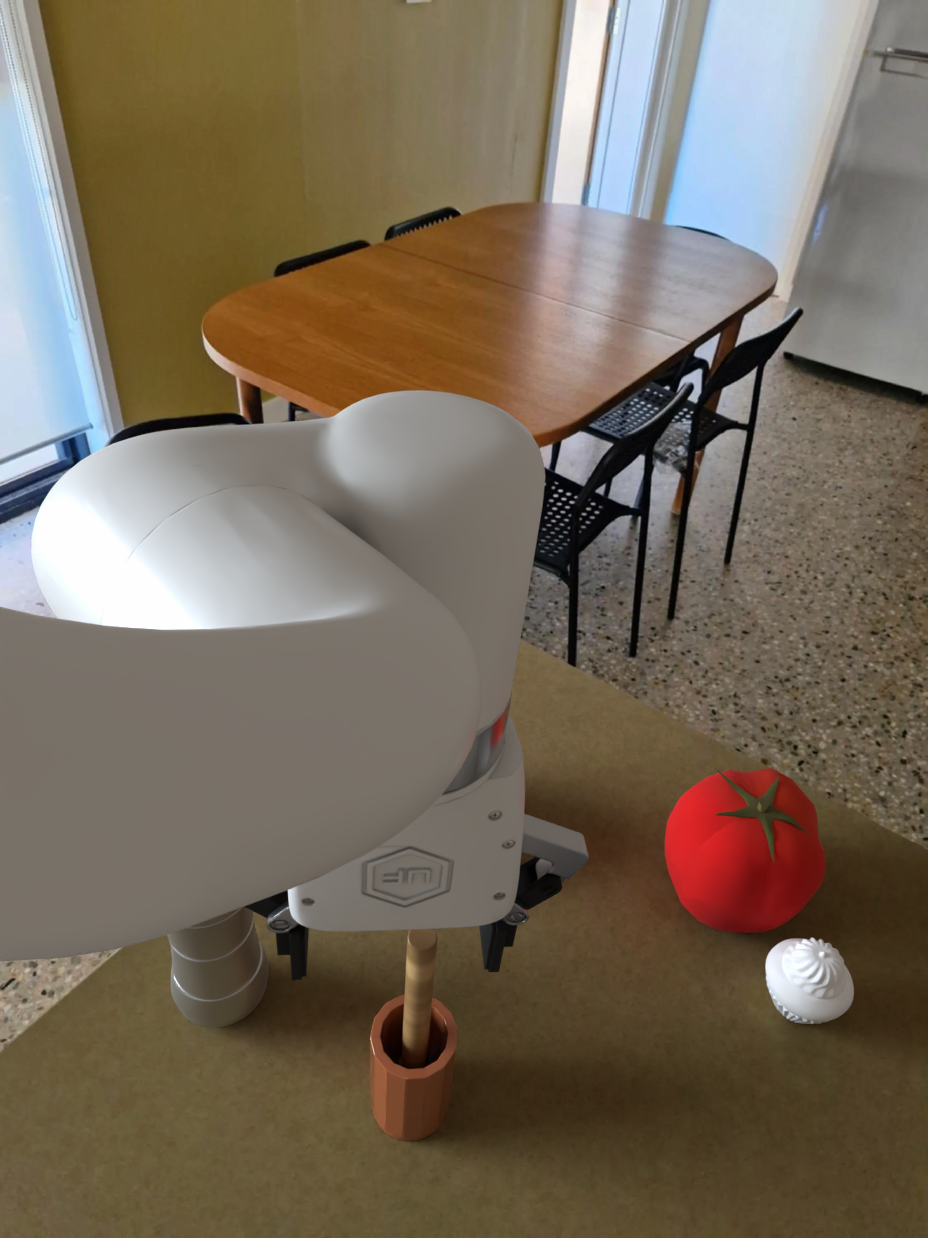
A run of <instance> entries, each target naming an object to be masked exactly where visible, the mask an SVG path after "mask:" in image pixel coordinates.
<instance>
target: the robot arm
mask: <svg viewBox="0 0 928 1238" xmlns="http://www.w3.org/2000/svg"><path fill="white" fill-rule="evenodd" d="M545 468H546V467H545V463H544V459H543V455H542V451H541V449H540V447H539V445H538V443H537V441H536V440H535V437H534V436H533V434H532V432H531V431H530V430H529V429H528V428H527V427H526V426H525V425H524V424H523V423H522V422H521V421H519V420H518V419H517V418H515V417H514V416H513V415H511V413H509V412H507V411H505V410H504V409H502V408H500V407H498V406H496V405H494V404H491V403H489V402H487V401H484V400H482V399H478V398H474V397H471V396H466V395H463V394H458V393H453V392H446V391H439V390H438V391H436V390H423V389H422V390H421V389H419V390H417V389H416V390H415V389H413V390H398V391H390V392H383V393H380V394H376V395H372V396H369V397H365V398H363V399H360V400H359V401H356V402H354V403H352V404H350V405H349V406H347V407H345V408H344V409H342V410H341V411H338V413H336V414H335V415H333V416H330V417H323V418H313V419H306V420H295V421H294V420H293V421H281V422H268V423H267V422H266V423H253V424H252V423H251V424H237V425H236V424H232V425H213V426H212V425H209V426H198V427H197V426H196V427H184V428H176V429H175V428H174V429H167V430H160V431H159V430H158V431H154V432H149V433H145V434H141V435H137V436H133V437H129V438H126V439H123V440H120V441H116V442H114V443H112V444H109V445H107V446H105V447H103V448H101V449H98V450H97V451H94V452H93V453H91V454H89V455H87V456H85V458H83V459H81V460H79V461H78V462H77V463H76V464H75V465H74V466H73V467H71V468H70V469H68V470H67V471H66V472H65V473H64V474H62V476H61V477H60V478H59V479H58V480H57V481H56V482H55V483H54V485H52V487H51V488H50V490H49V491H48V493H47V495H46V496H45V497H44V500H43V501H42V503H41V504H40V507H39V510H38V512H37V514H36V515H35V519H34V523H33V528H32V533H31V538H30V539H31V542H30V543H31V547H30V549H31V551H30V553H31V562H32V568H33V571H34V574H35V578H36V581H37V584H38V587H39V590H40V592H41V593H42V595H43V597H44V599H45V601H46V602H47V604H48V606H49V607H50V609H51V611H52V613H53V614H54V615H55V617H51V616H45V615H39V614H34V613H30V612H26V611H21V610H16V609H13V608H8V607H3V606H0V962H17V961H31V960H47V959H48V960H49V959H62V958H63V959H64V958H71V957H77V956H82V955H90V954H95V953H102V952H108V951H114V950H118V949H122V948H125V947H129V946H133V945H137V944H142V943H145V942H149V941H152V940H157V939H159V938H162V937H165V936H167V935H168V934H171V933H174V932H177V931H179V930H182V929H185V928H188V927H191V926H193V925H196V924H199V923H201V922H204V921H207V920H209V919H212V918H215V917H217V916H220V915H223V914H225V913H228V912H231V911H233V910H236V909H239V908H241V907H246V908H248V909H250V910H251V911H253V913H256V914H258V915H259V916H262V917H263V918H265V919H267V921H266V928H267V929H268V931H270V932H272V933H274V934H275V941H276V942H275V943H276V952H277V953H276V954H277V956H289V960H290V961H289V962H290V976H291V981H303V978H307V975H308V957H309V956H308V954H309V953H308V952H309V936H310V935H309V934H310V930H311V929H312V930H315V931H321V932H322V931H323V932H377V931H378V932H379V931H380V932H381V931H410V930H416V929H434V930H437V929H458V928H460V929H461V928H472V927H473V928H474V927H478V928H479V935H480V936H479V937H480V943H481V945H480V946H481V953H482V962H483V969H484V971H487V972H488V973H500V969H501V965H502V959H503V955H504V950H505V948H513V947H514V943H515V937H516V934H517V928H518V926H520V925H523V924H525V923H527V921H528V920H529V918H530V914H529V910H532V908H534V907H536V906H538V905H540V904H541V903H543V902H545V901H547V900H549V899H551V898H553V897H554V896H556V895H558V894H560V893H561V892H562V890H563V882H565V881H566V880H570V879H571V878H573V876H574V875H575V874H576V873H578V871H580V870H581V869H582V868H583V867H584V866H585V865H586V864H587V863H588V862H589V860H590V855H589V851H588V847H587V843H586V839H585V836H584V834H583V833H581V832H579V831H576V830H573V829H570V828H568V827H564V826H562V825H558V824H556V823H553V822H550V821H547V820H544V819H542V818H538V817H535V816H532V815H530V814H527V813H525V809H526V808H525V806H526V805H525V804H526V775H525V762H524V754H523V747H522V742H521V741H520V738H519V735H518V732H517V728H516V725H515V723H514V721H513V719H512V716H511V715H510V714H509V713H510V707H511V701H512V694H513V685H514V679H515V673H516V668H517V662H518V655H519V650H520V644H521V638H522V632H523V627H524V622H525V616H526V610H527V609H526V607H527V602H528V597H529V592H530V591H529V590H530V585H531V579H532V572H533V568H534V567H533V566H534V561H535V553H536V548H537V542H538V536H539V530H540V524H541V516H542V512H543V506H544V505H543V504H544V496H545V484H546V469H545ZM522 854H526V855H529V856H532V857H531V858H530V859H528V860H527V861H525V862H523V863H521V861H522Z"/></svg>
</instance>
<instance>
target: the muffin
mask: <svg viewBox="0 0 928 1238" xmlns="http://www.w3.org/2000/svg"><path fill="white" fill-rule="evenodd" d="M764 966H765V967H764V969H765V981H766V987H767V989H768V993H769V995H770V998H771V1000H772V1002H773V1005H774V1007H775V1008H776V1010H777V1011H778V1012H779V1014H781V1015H782V1017H785V1018H786V1020H789V1021H790V1022H794V1023H795V1024H796V1023H797V1024H805V1025H806V1024H807V1025H808V1024H810V1025H813V1024H816V1025H819V1024H822V1023H828V1022H830V1021H834V1020H836V1019H837V1018H839V1017H841V1016H842V1015H844V1014H845V1013H846V1012H847V1011H848V1010H849V1009H850V1007H851V1006H852V1004H853V1002H854V996H855V987H854V982H853V978H852V975H851V973H850V971H849V969H848V967H847V966H846V965H845V960H844V958H843V956H842V955H840V952H839V950H838V949H837V948H835V947H833V944H832V943H830V942H824V940H823V938H819V939H818V940H817V939H816V938H815V937H810V938H809V939H807V938H796V937H795V938H794V937H793V938H788V939H784V940H782V941H780V942H778V943H777V944H776V945H774V946H773V947H772V948H771V949H770V951H769V952H768V954H767V956H766V958H765V965H764Z"/></svg>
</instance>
